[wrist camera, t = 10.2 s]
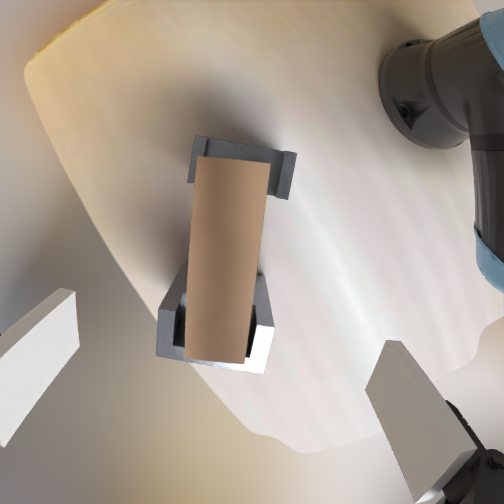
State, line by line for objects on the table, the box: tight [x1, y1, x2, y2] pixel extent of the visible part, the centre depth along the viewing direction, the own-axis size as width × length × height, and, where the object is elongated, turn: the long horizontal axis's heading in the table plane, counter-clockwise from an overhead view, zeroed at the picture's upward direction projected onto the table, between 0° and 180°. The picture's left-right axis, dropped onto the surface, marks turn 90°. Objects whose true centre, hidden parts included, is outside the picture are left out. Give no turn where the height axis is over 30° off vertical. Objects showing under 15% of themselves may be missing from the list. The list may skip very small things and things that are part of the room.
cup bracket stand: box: [156, 136, 297, 373], centre depth 31 cm, size 10×20×13 cm, turn 170°
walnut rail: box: [185, 156, 271, 365], centre depth 26 cm, size 5×16×6 cm, turn 173°
